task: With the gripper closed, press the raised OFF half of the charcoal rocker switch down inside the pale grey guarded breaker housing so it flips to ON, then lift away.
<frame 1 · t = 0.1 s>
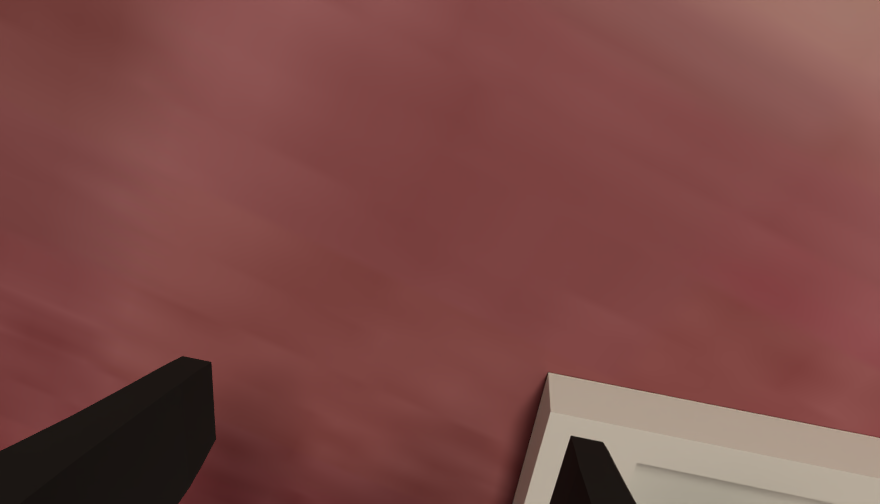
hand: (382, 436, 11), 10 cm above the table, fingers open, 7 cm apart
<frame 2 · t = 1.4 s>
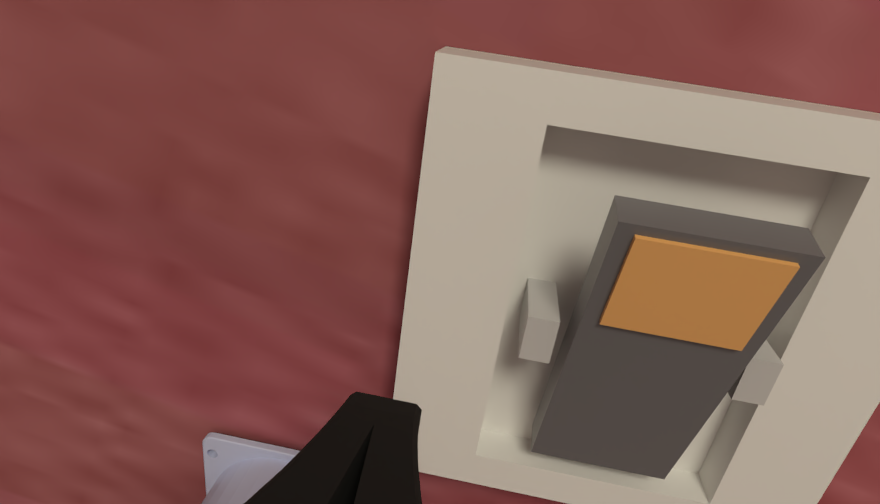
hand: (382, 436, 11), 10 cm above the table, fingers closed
rocker: (643, 362, 17), point 3 cm above the table, hinge at -15.0°
breaker housing: (627, 305, 20), on the table
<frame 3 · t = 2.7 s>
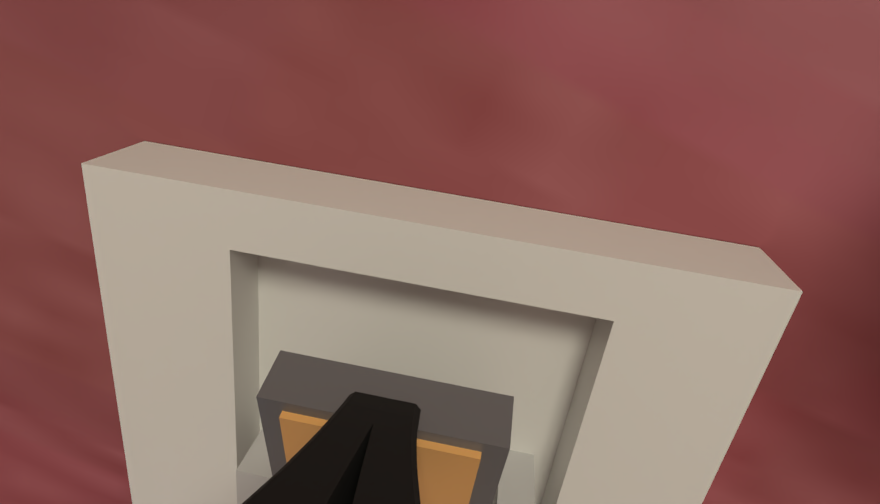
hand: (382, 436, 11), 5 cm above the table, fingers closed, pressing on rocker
breaker housing: (406, 429, 17), on the table
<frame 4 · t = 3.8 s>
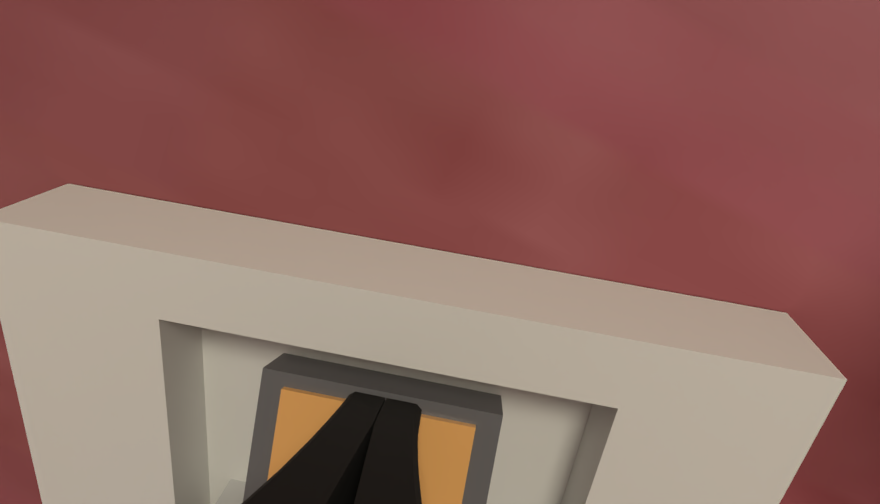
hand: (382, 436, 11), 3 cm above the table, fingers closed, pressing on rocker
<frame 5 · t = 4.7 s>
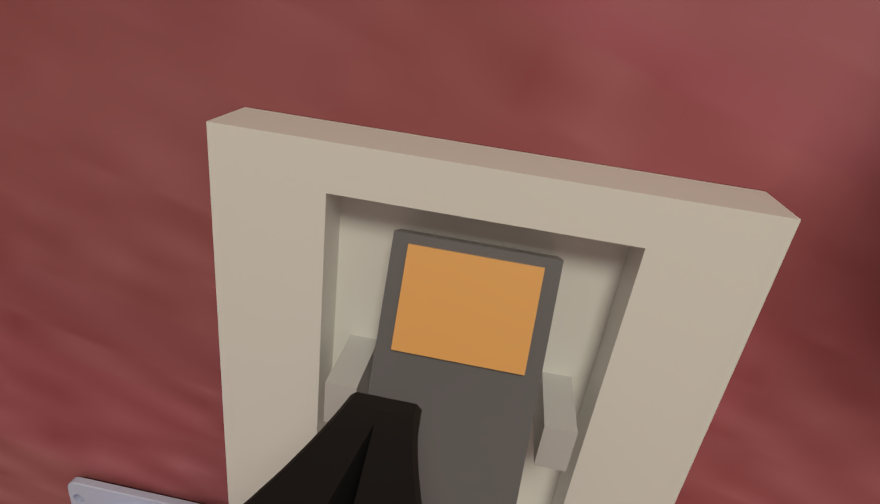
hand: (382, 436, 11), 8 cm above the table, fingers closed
rocker: (447, 417, 17), point 3 cm above the table, hinge at 19.6°
breaker housing: (458, 360, 20), on the table
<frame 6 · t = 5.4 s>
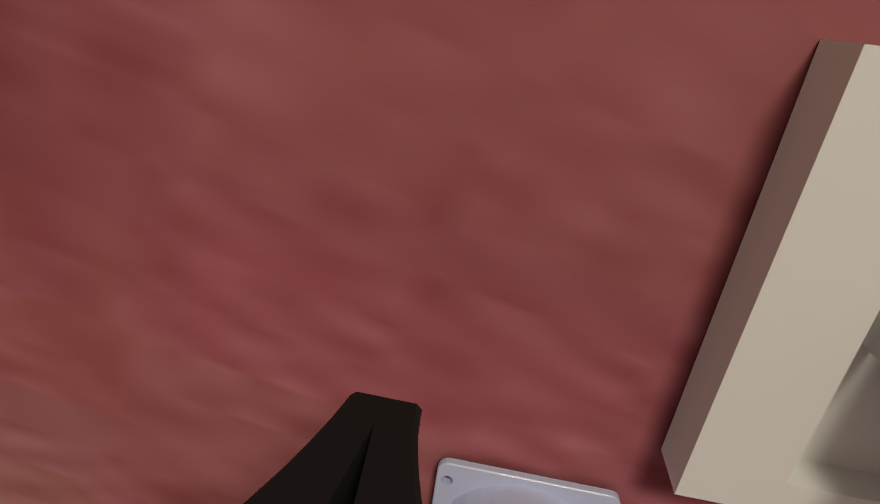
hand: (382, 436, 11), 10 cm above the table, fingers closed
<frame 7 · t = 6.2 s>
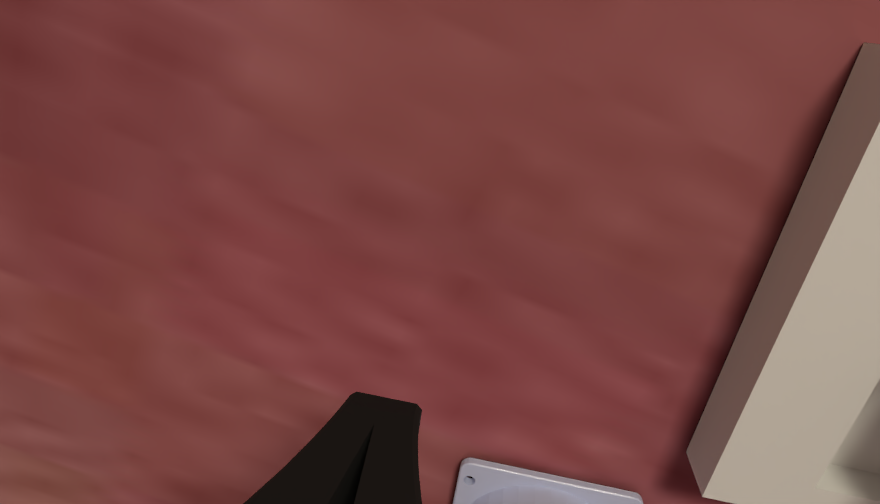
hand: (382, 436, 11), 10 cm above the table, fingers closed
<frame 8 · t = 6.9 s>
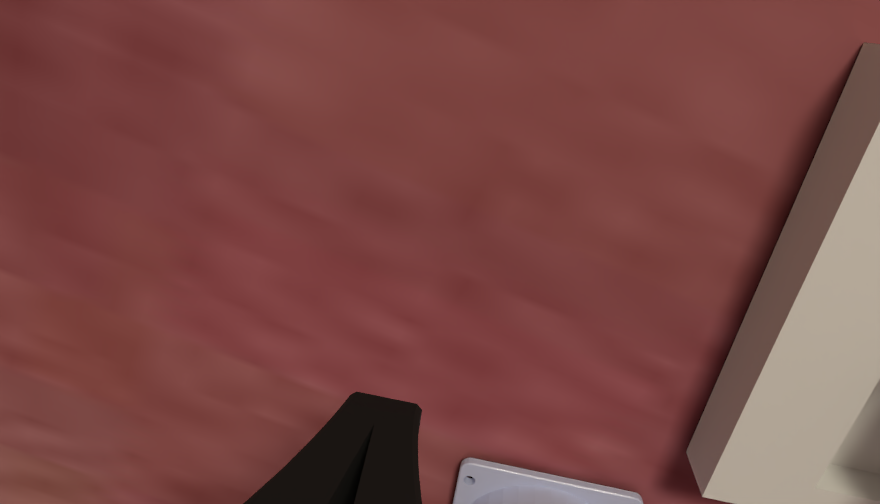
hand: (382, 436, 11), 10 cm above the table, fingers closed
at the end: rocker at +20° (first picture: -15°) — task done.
